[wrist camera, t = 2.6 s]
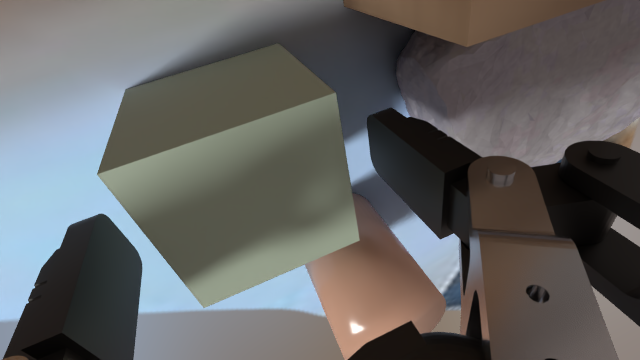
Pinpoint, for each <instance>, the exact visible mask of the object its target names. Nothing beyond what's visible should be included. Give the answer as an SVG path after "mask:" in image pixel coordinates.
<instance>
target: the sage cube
mask: <svg viewBox="0 0 640 360" xmlns="http://www.w3.org/2000/svg"><path fill="white" fill-rule="evenodd" d="M97 175H98V176H99V177H100V179H101V180H102V181H103V182H104V184H105V185H106V186H107V187H108V189H109V190H110V191H111V192H112V194H113V195H114V196H115V197H116V199H117V200H118V201H119V202H120V204H121V205H122V206H123V208H124V209H125V210H126V211H127V213H128V214H129V215H130V216H131V218H132V219H133V220H134V221H135V223H136V224H137V225H138V226H139V228H140V229H141V230H142V231H143V233H144V234H145V235H146V236H147V238H148V239H149V240H150V241H151V243H152V244H153V245H154V246H155V248H156V249H157V250H158V251H159V253H160V254H161V255H162V256H163V258H164V259H165V260H166V261H167V263H168V264H169V265H170V266H171V268H172V269H173V270H174V271H175V273H176V274H177V275H178V276H179V278H180V279H181V280H182V281H183V283H184V284H185V285H186V286H187V288H188V289H189V290H190V291H191V293H192V294H193V295H194V296H195V298H196V299H197V300H198V301H199V303H200V304H201V305H202V306H203V308H205V307H208V306H210V305H212V304H215V303H217V302H219V301H221V300H224V299H226V298H228V297H231V296H233V295H235V294H238V293H240V292H242V291H245V290H247V289H249V288H251V287H254V286H256V285H258V284H261V283H263V282H265V281H268V280H270V279H272V278H274V277H277V276H279V275H281V274H284V273H286V272H288V271H291V270H293V269H295V268H298V267H300V266H302V265H304V264H307V263H309V262H311V261H314V260H316V259H318V258H321V257H323V256H325V255H327V254H330V253H332V252H334V251H337V250H339V249H341V248H344V247H346V246H348V245H350V244H353V243H355V242H357V241H360V239H359V233H358V226H357V220H356V214H355V208H354V202H353V195H352V189H351V183H350V177H349V171H348V164H347V158H346V152H345V146H344V140H343V133H342V127H341V121H340V115H339V109H338V102H337V96H336V92H335V91H333V90H332V89H331V88H330V87H329V86H328V85H327V84H325V83H324V82H323V81H322V80H321V79H320V78H318V77H317V76H316V75H315V74H314V73H313V72H311V71H310V70H309V69H308V68H307V67H306V66H304V65H303V64H302V63H301V62H300V61H299V60H298V59H296V58H295V57H294V56H293V55H292V54H291V53H289V52H288V51H287V50H286V49H285V48H284V47H282V46H281V45H280V44H279V43H277V44H274V45H271V46H267V47H264V48H261V49H257V50H254V51H251V52H248V53H244V54H241V55H238V56H234V57H231V58H228V59H225V60H221V61H218V62H215V63H211V64H208V65H205V66H201V67H198V68H195V69H192V70H188V71H185V72H182V73H178V74H175V75H172V76H169V77H165V78H162V79H159V80H155V81H152V82H149V83H146V84H142V85H139V86H136V87H132V88H129V89H126V90H125V93H124V96H123V99H122V102H121V105H120V108H119V111H118V114H117V117H116V120H115V123H114V126H113V129H112V131H111V134H110V137H109V140H108V143H107V146H106V149H105V152H104V155H103V158H102V161H101V164H100V167H99V170H98V173H97Z"/></svg>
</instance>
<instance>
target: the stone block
mask: <svg viewBox="0 0 640 360" xmlns="http://www.w3.org/2000/svg"><path fill="white" fill-rule="evenodd" d="M396 62H397V70H396V76H397V81H398V86H399V88H400V90H401V96H402V97H403V99H404V101H405V104H406V108H407V111H408V113H409V115H410V117H413V118H417V119H421V120H424V121H427V122H429V123H430V124H432V125H433V126H435V127H436V128H438V130H441V131H443V132H444V133H446V134H447V136H448V137H449V136H450V137H452V138H453V139H455V140H456V141H458V142H460V143H461V144H463V145H464V146H466V147H467V148H469V149H470V150H472V151H474V152H475V153H477V154H478V155H480V156H481V157H487V156H506V157H511V158H515V159H518V160H520V161H522V162H524V163H526V164H527V165H529V166H530V167H536V166H542V165H549V164H554V163H556V162H557V161H559V160H560V159H561V158H563V156H564V153H565V150H566V149H567V147H568V146H570V145H572V144H574V143H577V142H581V141H603V140H605V139H607V138H609V137H610V136H612V135H614V134H616V133H618V132H620V131H622V130H623V129H625V128H626V127H627V126H628V125H630V124H631V123H632V122H633V121H635V120H636V119H637V118H639V117H640V0H605V1H602V2H599V3H596V4H593V5H590V6H587V7H584V8H581V9H578V10H575V11H572V12H569V13H566V14H564V15H561V16H558V17H555V18H552V19H549V20H546V21H543V22H540V23H537V24H534V25H531V26H528V27H525V28H522V29H519V30H516V31H513V32H510V33H507V34H504V35H501V36H498V37H495V38H492V39H489V40H487V41H484V42H481V43H478V44H475V45H472V46H469V47H465V46H462V45H459V44H456V43H453V42H450V41H447V40H444V39H441V38H438V37H435V36H432V35H429V34H426V33H423V32H420V31H417V30H416V31H415V32H414V33H413V34H412V36H411V38H410V40H409V42H408V43H407V45H406V46H405V48H404V49H403V50H402V51H401V52H400V54H399V57H398V59H397V61H396Z"/></svg>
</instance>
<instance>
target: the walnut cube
mask: <svg viewBox="0 0 640 360" xmlns="http://www.w3.org/2000/svg"><path fill="white" fill-rule="evenodd" d="M343 1H344V7H347V8H350V9H353V10H356V11H359V12H362V13H365V14H368V15H371V16H374V17H377V18H380V19H383V20H386V21H389V22H392V23H395V24H398V25H402V26H405V27H408V28H411V29H414V30H417V31H420V32H423V33H426V34H429V35H432V36H435V37H438V38H441V39H444V40H447V41H450V42H453V43H456V44H459V45H462V46H465V47H469V46H472V45H475V44H478V43H481V42H484V41H487V40H489V39H492V38H495V37H498V36H501V35H504V34H507V33H510V32H513V31H516V30H519V29H522V28H525V27H528V26H531V25H534V24H537V23H540V22H543V21H546V20H549V19H552V18H555V17H558V16H561V15H564V14H566V13H569V12H572V11H575V10H578V9H581V8H584V7H587V6H590V5H593V4H596V3H599V2H602V1H605V0H343Z"/></svg>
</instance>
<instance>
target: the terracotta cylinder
mask: <svg viewBox="0 0 640 360" xmlns="http://www.w3.org/2000/svg"><path fill="white" fill-rule="evenodd" d="M352 195H353V202H354V208H355V214H356V220H357V226H358V233H359V239H360V241H357V242H355V243H353V244H350V245H348V246H346V247H344V248H341V249H339V250H337V251H334V252H332V253H330V254H327V255H325V256H323V257H321V258H318V259H316V260H314V261H311V262H309V263H307V264H305V267H306V269H307V271H308V274H309V276H310V278H311V281H312V283H313V285H314V288H315V290H316V293H317V295H318V297H319V300H320V302H321V304H322V307H323V309H324V312H325V314H326V316H327V319H328V321H329V323H330V326H331V328H332V330H333V333H334V335H335V337H336V340H337V342H338V344H339V347H340V349H341V352H342V354H343V356H344V359H345V360H348V359H349V358H350V357H351V356H352V355H353V354H354V353H355V352H356V351H357V350H359V349H360V348H361V347H362V346H363V345H364V344H365V343H367V342H369V341H371V340H373V339H375V338H377V337H379V336H381V335H383V334H385V333H387V332H389V331H391V330H393V329H395V328H397V327H399V326H401V325H403V324H405V323H407V322H409V321H412V322H413V324H414V325H415V327H416V328H417V330H418V331H419V333H420V334H422V333H429V332H431V331H432V330H433V329H434V328H435V326H436V325H437V324H438V323H439V321H440V320H441V318H442V316H443V314H444V312H445V308H446V301H445V299H444V297H443V296H442V294H441V293H440V292H439V291H438V289H437V288H436V287H435V285H434V284H433V283H432V282H431V280H430V279H429V278H428V277H427V275H426V274H425V273H424V271H423V270H422V269H421V268H420V266H419V265H418V264H417V263H416V261H415V260H414V259H413V257H412V256H411V255H410V254H409V252H408V251H407V250H406V248H405V247H404V246H403V245H402V243H401V242H400V241H399V240H398V238H397V237H396V236H395V234H394V233H393V232H392V231H391V229H390V228H389V227H388V226H387V224H386V223H385V222H384V220H383V219H382V218H381V217H380V215H379V214H378V213H377V211H376V210H375V209H374V208H373V206H372V205H371V204H370V203H369V201H368V200H367V199H366V198H364V197H363V196H361V195H358V194H355V193H352Z"/></svg>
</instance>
